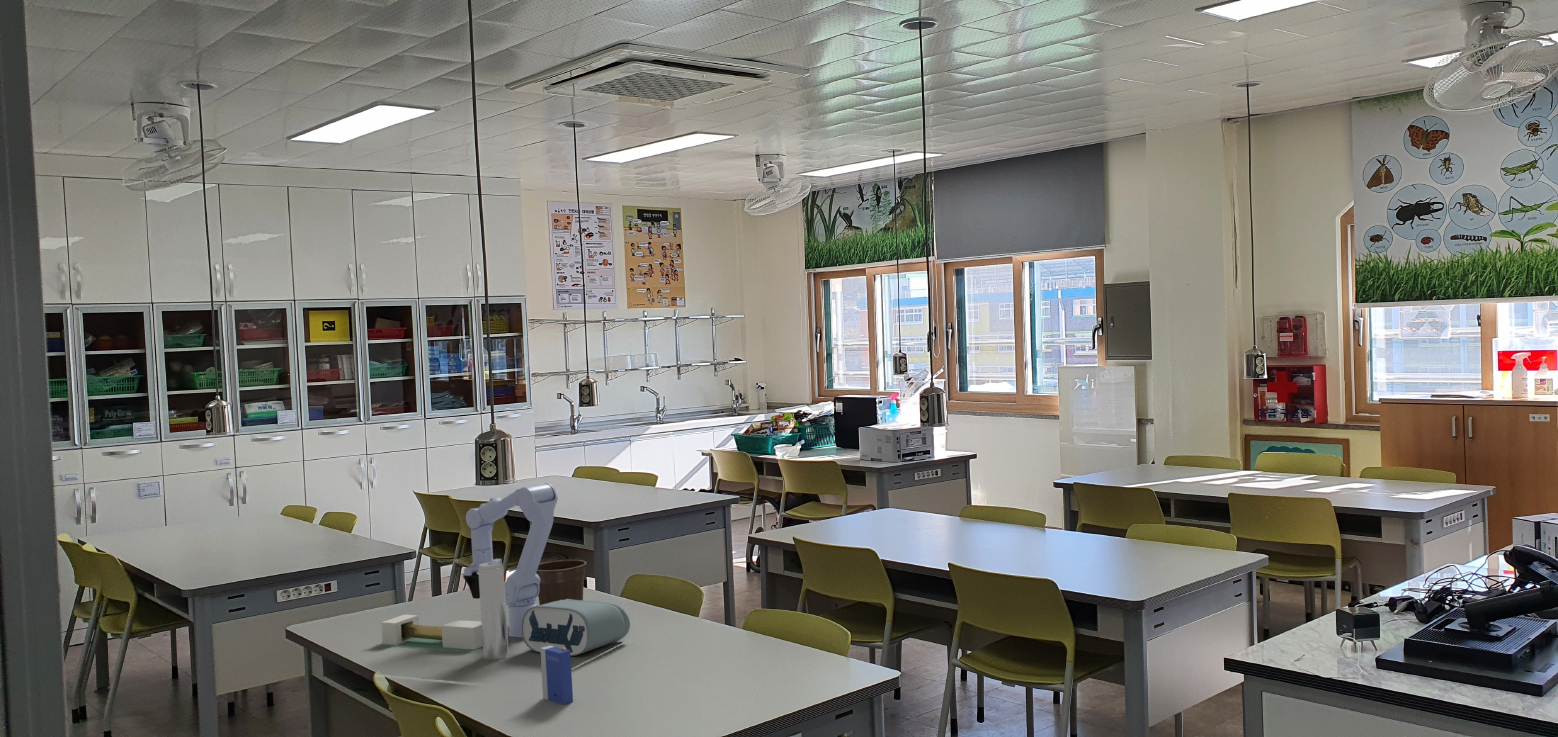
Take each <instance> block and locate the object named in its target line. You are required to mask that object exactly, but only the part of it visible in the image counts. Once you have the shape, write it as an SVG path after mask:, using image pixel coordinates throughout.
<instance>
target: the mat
mask: <svg viewBox="0 0 1558 737" xmlns="http://www.w3.org/2000/svg"><path fill="white" fill-rule="evenodd" d="M376 646H378V647H389V648H390V647H391V648H403V649H416V650H429V651H441V652H452V653H466V654H469V653H471V652H473V651H476V650H478V649H481V648H483V646H482V647H480V648H477V649H475V650H473V649H460V648H447V647H443V642H442V640H433V639H420V638H414V639H412V640H409V641H406V642H404V643H401V644H398V645H388V644H383V642H381V643H379V644H377V645H376Z"/></svg>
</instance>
